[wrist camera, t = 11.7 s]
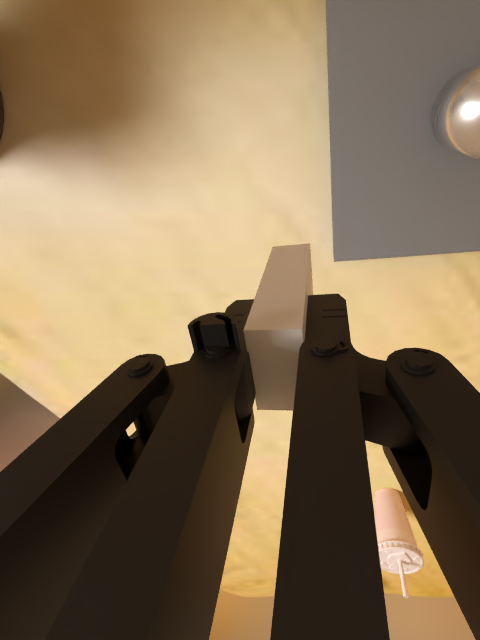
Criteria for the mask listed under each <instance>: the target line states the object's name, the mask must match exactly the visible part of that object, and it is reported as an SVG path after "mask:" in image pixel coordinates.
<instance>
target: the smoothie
mask: <svg viewBox="0 0 480 640" xmlns="http://www.w3.org/2000/svg"><path fill="white" fill-rule="evenodd" d="M375 525H376V534H377V542H378V550H379V558H380V566H381V569H383V570H385V571H387V572H391V573H395V574H400V578H401V584H402V590H403V596H404V598H408V591H407V586H406V580H405V574H410V573H414V572H417V571H419V570H420V569H421V568H422V567H423V565H424V561H423V554H422V552H421V550H420V549H418V547H417V544H416V540H415V538H414V535H413V532H412V529H411V526H410V523H409V520H408V517H407V514H406V511H405V508H404V506H403V503H402V500H401V497H400V494H399V493H398V492H397V491H396V490H394V489H391V488H382V489H379V490H377V491H376V493H375Z"/></svg>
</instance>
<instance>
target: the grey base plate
mask: <svg viewBox="0 0 480 640" xmlns="http://www.w3.org/2000/svg"><path fill="white" fill-rule="evenodd" d="M326 23H327V56H328V89H329V122H330V155H331V188H332V221H333V254H334V262H336V261H350V260H363V259H377V258H391V257H405V256H418V255H432V254H446V253H459V252H473V251H480V159H477V158H474V157H471V156H468V155H465V154H462V153H459V152H456V151H453V150H450V149H448V148H446V147H444V146H443V145H441V144H440V143H439V142H438V141H437V139H436V138H435V136H434V134H433V131H432V127H431V114H432V109H433V105H434V103H435V100H436V98H437V96H438V94H439V93H440V91H441V90H442V88H443V87H444V86H445V85H446V83H447V82H448V81H449V80H450V79H452V78H453V77H454V76H455V75H457V74H458V73H459V72H461V71H463V70H465V69H467V68H469V67H472V66H475V65H479V64H480V0H326Z"/></svg>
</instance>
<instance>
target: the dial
mask: <svg viewBox="0 0 480 640" xmlns="http://www.w3.org/2000/svg"><path fill="white" fill-rule="evenodd" d="M431 127H432V131H433V134H434V136H435V138H436V139H437V141H438V142H439V143H440V144H441V145H443V146H444V147H446V148H448V149H450V150H453V151H456V152H459V153H462V154H465V155H468V156H471V157H474V158H477V159H480V64H479V65H475V66H472V67H469V68H467V69H465V70H463V71H461V72H459V73H458V74H457V75H455V76H454V77H453V78H452V79H450V80H449V81H448V82H447V83H446V85H445V86H444V87H443V88H442V90H441V91H440V93H439V94H438V96H437V98H436V100H435V103H434V105H433V109H432V114H431Z"/></svg>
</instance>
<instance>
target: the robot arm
mask: <svg viewBox="0 0 480 640" xmlns="http://www.w3.org/2000/svg"><path fill="white" fill-rule="evenodd" d="M2 127H3V106H2V99H1V94H0V136H1V133H2ZM188 329H189V333H190V337H191V341H192V345H193V348H194V353H193V355H192V357H191V359H190V361H187V362H183V363H179V364H174V365H170V366H166V364H165V360H164V359H163V358H162V357H161V356H159V355H156V354H143V355H139V356H136V357H134V358H132V359H129V360H128V361H126V362H125V363H123V364H122V365H121V366H120V367H118V368H117V369H116V370H115V371H114V372H113V373H112V374H111V375H109V376H108V377H107V378H106V379H105V380H104V381H103V382H102V383H100V384H99V385H98V386H97V387H96V388H95V389H94V390H92V391H91V392H90V393H89V394H88V395H87V396H86V397H85V398H83V399H82V400H81V401H80V402H79V403H78V404H77V405H76V406H74V407H73V408H72V409H71V410H70V411H69V412H68V413H66V414H65V415H64V416H63V417H62V418H61V419H60V420H59V421H57V422H56V424H54V425H53V426H52V427H51V428H50V429H48V430H47V431H46V432H45V433H44V434H43V435H42V436H41V437H39V438H38V439H37V440H36V441H35V442H34V443H33V444H31V445H30V446H29V447H28V448H27V449H26V450H25V451H24V452H23V453H21V454H20V455H19V456H18V457H17V458H16V459H15V460H14V461H12V462H11V463H10V464H9V465H8V466H7V467H5V468H4V469H3V470H2V471H1V472H0V640H209V636H210V631H211V626H212V622H213V616H214V612H215V607H216V603H217V598H218V593H219V589H220V584H221V579H222V574H223V570H224V565H225V560H226V555H227V551H228V546H229V541H230V536H231V532H232V527H233V522H234V517H235V513H236V508H237V503H238V499H239V494H240V489H241V484H242V480H243V475H244V470H245V465H246V461H247V456H248V451H249V446H250V442H251V437H252V432H253V427H254V414H253V408H252V407H253V403H254V399H256V405H257V410H293V418H292V428H291V438H290V448H289V458H288V468H287V478H286V488H285V498H284V508H283V518H282V528H281V538H280V548H279V558H278V568H277V578H276V588H275V599H274V608H273V618H272V628H271V638H270V640H390V639H389V631H388V622H387V615H386V606H385V599H384V590H383V582H382V574H381V566H380V558H379V550H378V542H377V534H376V525H375V517H374V509H373V501H372V493H371V485H370V477H369V469H368V461H367V453H366V445H365V440H366V441H370V442H373V443H376V444H380V445H382V446H383V451H384V453H385V455H386V457H387V459H388V461H389V464H390V466H391V468H392V470H393V472H394V474H395V476H396V478H397V480H398V482H399V484H400V486H401V488H402V490H403V492H404V494H405V496H406V498H407V500H408V502H409V504H410V506H411V508H412V510H413V513H414V515H415V517H416V519H417V521H418V523H419V525H420V527H421V529H422V531H423V533H424V535H425V537H426V539H427V541H428V543H429V545H430V547H431V549H432V551H433V553H434V555H435V557H436V560H437V562H438V564H439V566H440V568H441V570H442V572H443V574H444V576H445V578H446V580H447V582H448V584H449V586H450V588H451V590H452V592H453V594H454V596H455V598H456V600H457V602H458V604H459V606H460V609H461V611H462V613H463V615H464V617H465V619H466V620H467V623H468V625H469V627H470V629H471V631H472V633H473V635H474V637H475V639H476V640H480V393H479V392H478V391H477V390H476V389H475V388H474V387H473V385H472V384H471V383H470V382H469V381H468V380H467V379H466V378H465V377H464V376H463V375H462V374H461V373H460V372H459V371H458V370H457V369H456V368H455V367H454V366H453V364H452V363H451V362H450V361H449V360H447V359H446V358H445V357H443V356H442V355H441V354H439V353H436V352H433V351H431V350H427V349H421V348H404V349H401V350H397V351H394V352H393V353H392V354H390V355H389V356H388V358H387V360H386V361H383V360H377V359H373V358H369V357H367V356H364V355H362V354H360V353H359V352H357V351H356V350H355V349H354V348H353V346H352V344H351V339H350V331H349V323H348V315H347V306H346V300H345V299H344V298H343V297H341V296H340V295H339V294H324V295H313V284H312V268H311V253H310V244H299V245H288V246H277V247H273V248H272V251H271V254H270V256H269V259H268V262H267V265H266V268H265V271H264V273H263V276H262V279H261V282H260V285H259V288H258V290H257V293H256V296H255V299H251V300H236V301H235V302H233V303H232V304H231V305H230V306H228V307H227V309H226V311H225V313H220V312H216V313H209V314H206V315H203V316H200V317H198V318H196V319H194V320H192V321H191V322H190V323H189V325H188ZM132 422H134V425H135V427H136V431H135V432H134V433H133V434H132V435H131V436H128V435H127V432H126V429H127V428H128V427H129V426H130V425H131V423H132Z"/></svg>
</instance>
